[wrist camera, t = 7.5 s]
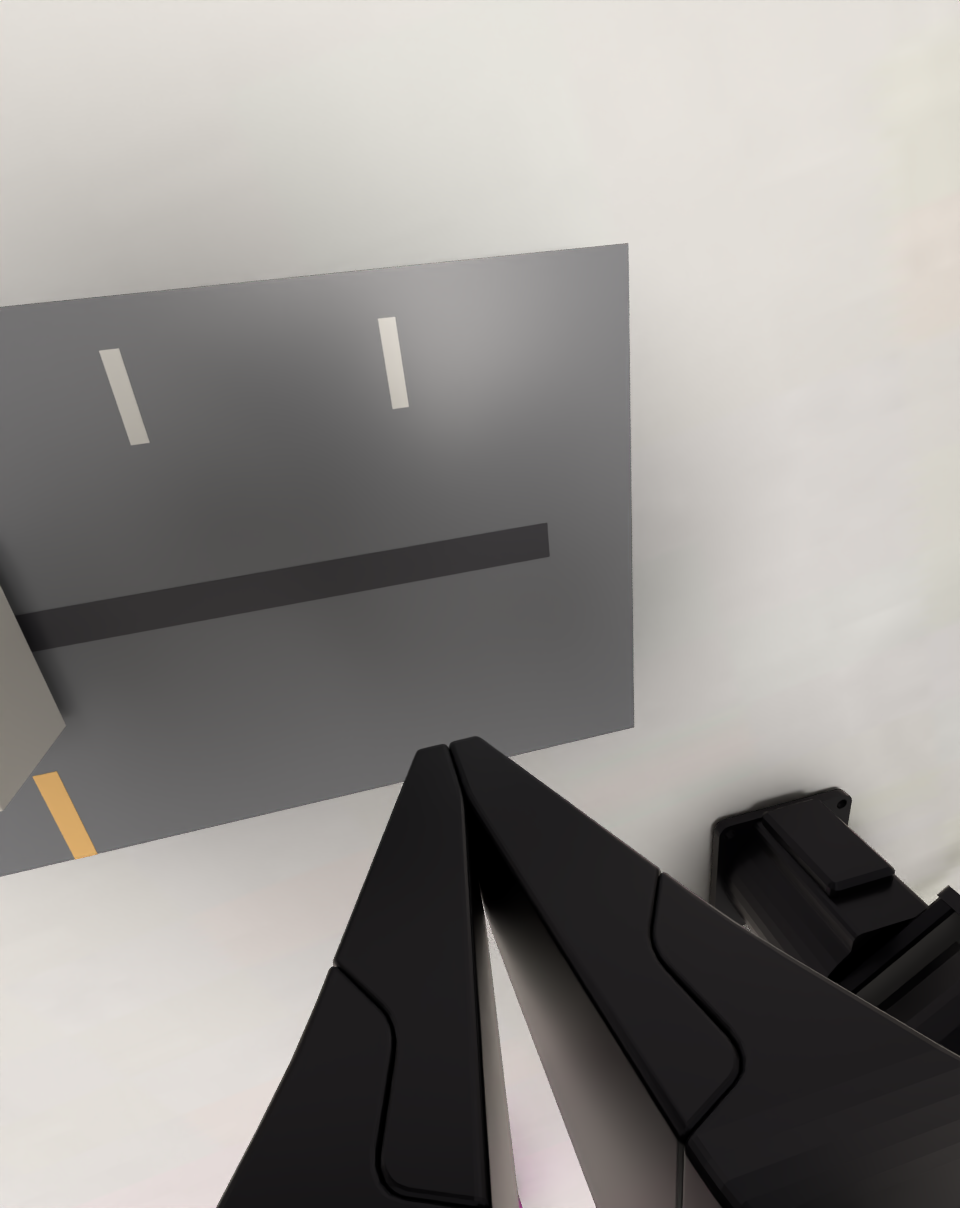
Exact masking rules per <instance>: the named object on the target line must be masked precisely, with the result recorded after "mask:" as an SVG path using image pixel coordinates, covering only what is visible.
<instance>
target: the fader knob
mask: <svg viewBox="0 0 960 1208" xmlns="http://www.w3.org/2000/svg"><path fill="white" fill-rule="evenodd" d="M65 726H66V725H65V722H64V720H63V718H62V716H61V714H60V712H59V710H58V707H57V705H56V703H55V701H54V699H53V697H52V695H51V693H50V690H49V688H48V686H47V684H46V682H45V680H44V678H43V675H42V673H41V671H40V669H39V667H38V665H37V663H36V661H35V658H34V656H33V654H32V652H31V650H30V648H29V646H28V643H27V641H26V639H25V637H24V635H23V633H22V631H21V629H20V626H19V624H18V622H17V620H16V618H15V616H14V614H13V611H12V609H11V607H10V605H9V603H8V601H7V599H6V597H5V594H4V592H3V590H2V588H1V586H0V811H3V810H4V809H5V807H6V806H7V805H8V803H9V802H10V801H11V799H12V798H13V797H14V795H15V794H16V793H17V791H18V790H19V789H20V787H21V786H22V784H23V783H24V782H25V780H26V779H27V778H28V776H29V775H30V774H31V772H32V771H33V770H34V768H35V767H36V766H37V764H38V763H39V762H40V760H41V759H42V757H43V756H44V755H45V753H46V752H47V751H48V749H49V748H50V747H51V745H52V744H53V743H54V741H55V740H56V739H57V737H58V736H59V734H60V733H61V732H62V730H63V729H64V728H65Z"/></svg>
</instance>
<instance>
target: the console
mask: <svg viewBox="0 0 960 1208" xmlns="http://www.w3.org/2000/svg"><path fill="white" fill-rule="evenodd" d="M0 586H1V588H2V590H3V592H4V594H5V597H6V599H7V601H8V603H9V605H10V607H11V609H12V611H13V614H14V616H15V618H16V620H17V622H18V624H19V626H20V629H21V631H22V633H23V635H24V637H25V639H26V641H27V643H28V646H29V648H30V650H31V652H32V654H33V656H34V658H35V661H36V663H37V665H38V667H39V669H40V671H41V673H42V675H43V678H44V680H45V682H46V684H47V686H48V688H49V690H50V693H51V695H52V697H53V699H54V701H55V703H56V705H57V707H58V710H59V712H60V714H61V716H62V718H63V720H64V722H65V725H66V726H65V728H64V729H63V730H62V732H61V733H60V734H59V736H58V737H57V739H56V740H55V741H54V743H53V744H52V745H51V747H50V748H49V749H48V751H47V752H46V753H45V755H44V756H43V757H42V759H41V760H40V762H39V763H38V764H37V766H36V767H35V768H34V770H33V771H32V772H31V774H30V775H29V776H28V778H27V779H26V780H25V782H24V783H23V784H22V786H21V787H20V789H19V790H18V791H17V793H16V794H15V795H14V797H13V798H12V799H11V801H10V802H9V803H8V805H7V806H6V807H5V809H4V810H3V811H0V877H1V876H5V875H10V874H14V873H18V872H22V871H27V870H31V869H35V868H39V867H44V866H48V865H52V864H56V863H61V862H65V861H69V860H73V859H79V858H84V857H88V856H92V855H96V854H99V853H103V852H107V851H111V850H116V849H120V848H124V847H128V846H133V845H137V844H141V843H145V842H150V841H154V840H158V839H162V838H167V837H171V836H175V835H179V834H183V833H188V832H192V831H196V830H200V829H205V828H209V827H213V826H217V825H222V824H226V823H230V822H234V821H239V820H243V819H247V818H251V817H256V816H260V815H264V814H268V813H273V812H277V811H281V810H285V809H290V808H294V807H298V806H302V805H306V804H311V803H315V802H319V801H323V800H328V799H332V798H336V797H340V796H345V795H349V794H353V793H357V792H362V791H366V790H370V789H374V788H379V787H383V786H387V785H391V784H396V783H400V782H404V781H405V778H406V776H407V773H408V771H409V768H410V766H411V763H412V761H413V758H414V756H415V754H416V752H417V751H418V750H419V749H422V748H426V747H430V746H435V745H439V744H446V745H447V746H448V748H449V744H450V743H451V742H452V741H456V740H460V739H464V738H469V737H473V736H478V737H481V738H482V739H483V740H485V741H486V742H488V743H489V744H490V745H492V746H493V747H494V748H496V749H497V750H498V751H500V752H501V753H503V754H504V755H505V756H507V757H510V756H514V755H519V754H523V753H527V752H531V751H535V750H540V749H544V748H548V747H552V746H557V745H561V744H565V743H569V742H574V741H578V740H582V739H586V738H591V737H595V736H599V735H603V734H608V733H612V732H616V731H620V730H625V729H629V728H633V727H634V683H633V599H632V514H631V430H630V346H629V261H628V243H625V244H615V245H605V246H595V247H585V248H576V249H566V250H556V251H546V252H536V253H526V254H517V255H507V256H497V257H487V258H477V259H467V260H458V261H448V262H438V263H428V264H418V265H408V266H399V267H389V268H379V269H369V270H359V271H349V272H339V273H330V274H320V275H310V276H300V277H290V278H280V279H271V280H261V281H251V282H241V283H231V284H221V285H212V286H202V287H192V288H182V289H172V290H162V291H152V292H143V293H133V294H123V295H113V296H103V297H93V298H84V299H74V300H64V301H54V302H44V303H34V304H25V305H15V306H5V307H0Z"/></svg>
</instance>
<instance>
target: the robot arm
mask: <svg viewBox="0 0 960 1208" xmlns="http://www.w3.org/2000/svg"><path fill="white" fill-rule="evenodd" d="M851 803H852V798H851V797H850V796H849V795H848V794H847V793H846V792H845V791H843V790H841V789H836V790H833V791H829V792H825V793H821V794H818V795H814V796H810V797H806V798H803V799H799V800H795V801H791V802H788V803H784V804H780V805H777V806H773V807H769V808H765V809H762V810H758V811H754V812H750V813H747V814H743V815H739V816H736V817H732V818H728V819H725V820H722V821H720V822H719V823H718V824H717V825H716V826H715V829H714V837H713V855H712V872H711V890H710V904H709V903H708V902H706V901H705V900H703V899H702V898H700V897H699V896H697V895H696V894H695V893H693V892H692V891H690V890H689V889H688V888H686V887H685V886H683V885H682V884H681V883H679V882H678V881H677V880H675V879H674V878H673V877H671V876H670V875H668V874H667V873H665V872H663V873H661V871H660V869H659V868H658V867H657V866H656V865H654V864H653V863H652V862H650V861H649V860H647V859H646V858H645V857H643V856H642V855H641V854H639V853H638V852H637V851H635V850H634V849H632V848H631V847H630V846H628V845H627V844H626V843H624V842H623V841H621V840H620V839H619V838H617V837H616V836H615V835H613V834H612V833H611V832H609V831H608V830H606V829H605V828H604V827H602V826H601V825H600V824H598V823H597V822H596V821H594V820H593V819H591V818H590V817H589V816H587V815H586V814H585V813H583V812H582V811H580V810H579V809H578V808H576V807H575V806H574V805H572V804H571V803H570V802H568V801H567V800H565V799H564V798H563V797H561V796H560V795H559V794H557V793H556V792H554V791H553V790H552V789H550V788H549V787H548V786H546V785H545V784H544V783H542V782H541V781H539V780H538V779H537V778H535V777H534V776H533V775H531V774H530V773H529V772H527V771H526V770H524V769H523V768H522V767H520V766H519V765H518V764H516V763H515V762H513V761H512V760H511V759H509V758H508V757H507V756H505V755H504V754H503V753H501V752H500V751H498V750H497V749H496V748H494V747H493V746H492V745H490V744H489V743H488V742H486V741H485V740H483V739H482V738H481V737H478V736H473V737H469V738H464V739H460V740H456V741H452V742H451V743H450V744H449V748H448V746H447V745H446V744H439V745H435V746H430V747H426V748H422V749H419V750H418V751H417V752H416V754H415V756H414V758H413V761H412V763H411V766H410V768H409V771H408V773H407V776H406V778H405V781H404V783H403V786H402V788H401V791H400V794H399V796H398V799H397V801H396V804H395V806H394V809H393V811H392V814H391V816H390V819H389V821H388V824H387V826H386V829H385V831H384V834H383V836H382V839H381V841H380V844H379V846H378V849H377V851H376V854H375V856H374V859H373V861H372V864H371V866H370V869H369V871H368V874H367V876H366V879H365V881H364V884H363V887H362V889H361V892H360V894H359V897H358V899H357V902H356V904H355V907H354V909H353V912H352V914H351V917H350V919H349V922H348V924H347V927H346V929H345V932H344V934H343V937H342V939H341V942H340V944H339V947H338V949H337V952H336V954H335V957H334V959H333V967H331V968H330V969H329V971H328V974H327V976H326V979H325V981H324V984H323V986H322V989H321V991H320V994H319V996H318V999H317V1001H316V1004H315V1006H314V1009H313V1011H312V1013H311V1016H310V1018H309V1020H308V1022H307V1025H306V1027H305V1029H304V1032H303V1034H302V1036H301V1039H300V1041H299V1043H298V1046H297V1048H296V1050H295V1052H294V1055H293V1057H292V1059H291V1062H290V1064H289V1066H288V1068H287V1070H286V1072H285V1074H284V1076H283V1078H282V1080H281V1082H280V1084H279V1086H278V1088H277V1090H276V1092H275V1094H274V1096H273V1098H272V1100H271V1102H270V1104H269V1106H268V1108H267V1110H266V1112H265V1114H264V1116H263V1118H262V1120H261V1122H260V1124H259V1126H258V1128H257V1130H256V1132H255V1134H254V1136H253V1138H252V1140H251V1142H250V1144H249V1146H248V1147H247V1149H246V1151H245V1153H244V1155H243V1157H242V1159H241V1161H240V1163H239V1165H238V1167H237V1169H236V1170H235V1172H234V1174H233V1176H232V1178H231V1180H230V1182H229V1184H228V1186H227V1188H226V1190H225V1192H224V1194H223V1195H222V1197H221V1199H220V1201H219V1203H218V1205H217V1207H216V1208H519V1200H518V1192H517V1183H516V1175H515V1166H514V1158H513V1149H512V1141H511V1132H510V1124H509V1115H508V1107H507V1098H506V1090H505V1081H504V1073H503V1064H502V1056H501V1047H500V1039H499V1030H498V1021H497V1013H496V1004H495V996H494V987H493V979H492V970H491V962H490V953H489V945H488V936H487V929H486V922H485V915H484V909H485V912H486V915H487V918H488V921H489V924H490V927H491V930H492V933H493V935H494V938H495V941H496V943H497V946H498V949H499V951H500V954H501V957H502V959H503V962H504V964H505V967H506V970H507V972H508V975H509V978H510V980H511V983H512V986H513V988H514V991H515V994H516V996H517V999H518V1002H519V1004H520V1007H521V1010H522V1012H523V1015H524V1017H525V1020H526V1023H527V1025H528V1028H529V1031H530V1033H531V1036H532V1039H533V1041H534V1044H535V1047H536V1049H537V1052H538V1055H539V1057H540V1060H541V1062H542V1065H543V1068H544V1070H545V1073H546V1076H547V1078H548V1081H549V1084H550V1086H551V1089H552V1092H553V1094H554V1097H555V1100H556V1102H557V1105H558V1107H559V1110H560V1113H561V1115H562V1118H563V1121H564V1123H565V1126H566V1129H567V1131H568V1134H569V1137H570V1139H571V1142H572V1145H573V1147H574V1150H575V1153H576V1155H577V1158H578V1160H579V1163H580V1166H581V1168H582V1171H583V1174H584V1176H585V1179H586V1182H587V1184H588V1187H589V1190H590V1192H591V1195H592V1198H593V1200H594V1203H595V1205H596V1208H960V895H959V894H958V893H957V892H956V891H955V890H953V889H952V888H951V887H950V886H947V887H946V888H944V889H943V890H942V891H941V892H940V893H939V894H937V895H938V896H939V898H938V899H936V900H935V901H934V902H933V903H932V904H930V905H929V906H928V905H927V904H926V903H925V902H924V901H923V900H922V899H921V898H920V897H918V896H917V895H916V894H915V893H914V892H913V891H912V890H911V889H910V888H909V887H908V886H907V885H906V884H904V883H903V882H902V881H901V880H900V879H899V878H898V877H897V876H896V875H895V870H894V868H893V867H892V866H891V865H890V864H889V863H888V862H887V861H886V860H884V859H883V858H882V857H881V856H880V855H879V854H878V853H877V852H876V851H875V850H874V849H872V848H871V847H870V846H869V845H868V844H867V843H866V842H865V841H864V840H863V839H861V838H860V837H859V836H858V835H857V834H856V833H855V832H854V831H853V830H852V829H851V828H849V827H848V820H849V814H850V809H851ZM482 901H483V903H482ZM483 905H484V909H483ZM745 924H747V926H748V927H749V928H750V930H751V931H752V932H751V931H749V930H748V929H746V928H744V927H743V926H742V925H745Z"/></svg>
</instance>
